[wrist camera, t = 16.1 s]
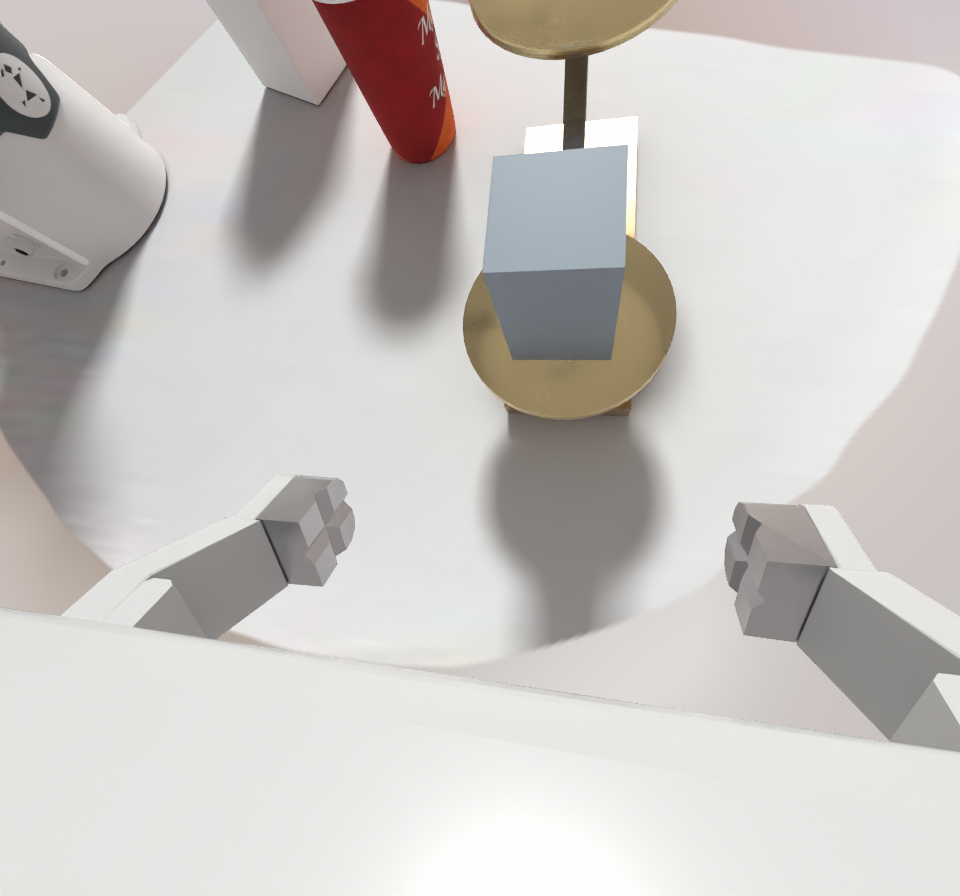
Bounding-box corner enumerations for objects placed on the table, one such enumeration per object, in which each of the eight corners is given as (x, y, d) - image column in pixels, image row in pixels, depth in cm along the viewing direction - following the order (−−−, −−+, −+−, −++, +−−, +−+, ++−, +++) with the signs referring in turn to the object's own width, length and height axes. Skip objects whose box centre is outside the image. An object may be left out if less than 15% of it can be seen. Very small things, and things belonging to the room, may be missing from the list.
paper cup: (485, 138, 38) (434, -86, 25) (405, 191, 39) (313, -1, 25) (440, 81, 41) (371, -153, 27) (365, 132, 41) (261, -73, 28)
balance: (483, 446, 33) (416, 372, 19) (512, 120, 38) (476, -111, 25) (652, 453, 30) (707, 374, 17) (656, 104, 36) (700, -161, 23)
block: (512, 360, 25) (482, 273, 17) (519, 274, 26) (493, 156, 18) (611, 360, 24) (625, 267, 16) (613, 270, 25) (628, 143, 17)
